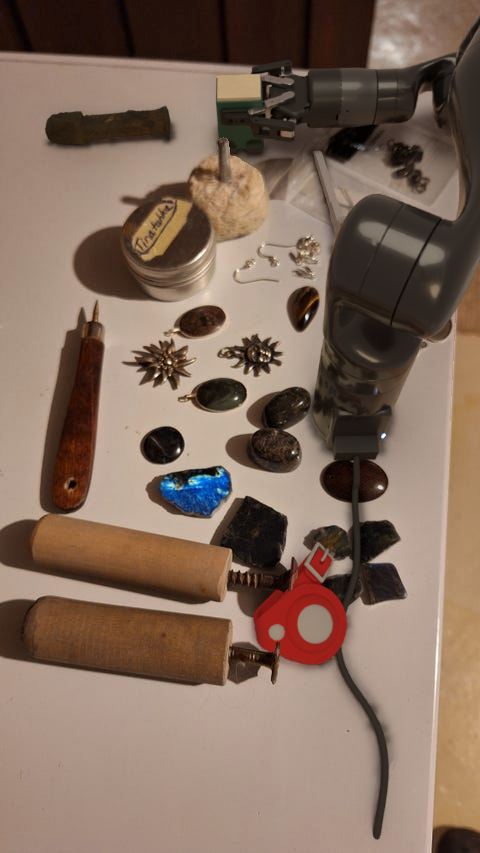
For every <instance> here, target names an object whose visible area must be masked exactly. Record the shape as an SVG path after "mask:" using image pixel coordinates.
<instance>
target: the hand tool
mask: <svg viewBox="0 0 480 853" xmlns="http://www.w3.org/2000/svg"><path fill="white" fill-rule="evenodd" d="M171 125H172V124H171V116H170V112H169V108H168V106H167V105H163V106H160V107H159V108H156V109H146V110H144V109H143V110H134V109H128V110H126V111H122V112H113V113H101V114H85V115H84V114H83V112H82V111H81V110H79V111H78V110H75V111H64V112H58V113H52V114H51V115H50V116H49V117H48V118H47V119H46V121H45V127H44V132H45V135H46V138H47V140H48V141H50V142H52V143H57V144H64V145H67V144H68V145H81V146H82V145H83V146H84V145H85V144H87V142H88V141H93V140H113V139H119V138H137V137H139V138H140V137H153V136H163V135H164V136H165V137H166V138H167V139H170V138H171Z"/></svg>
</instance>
